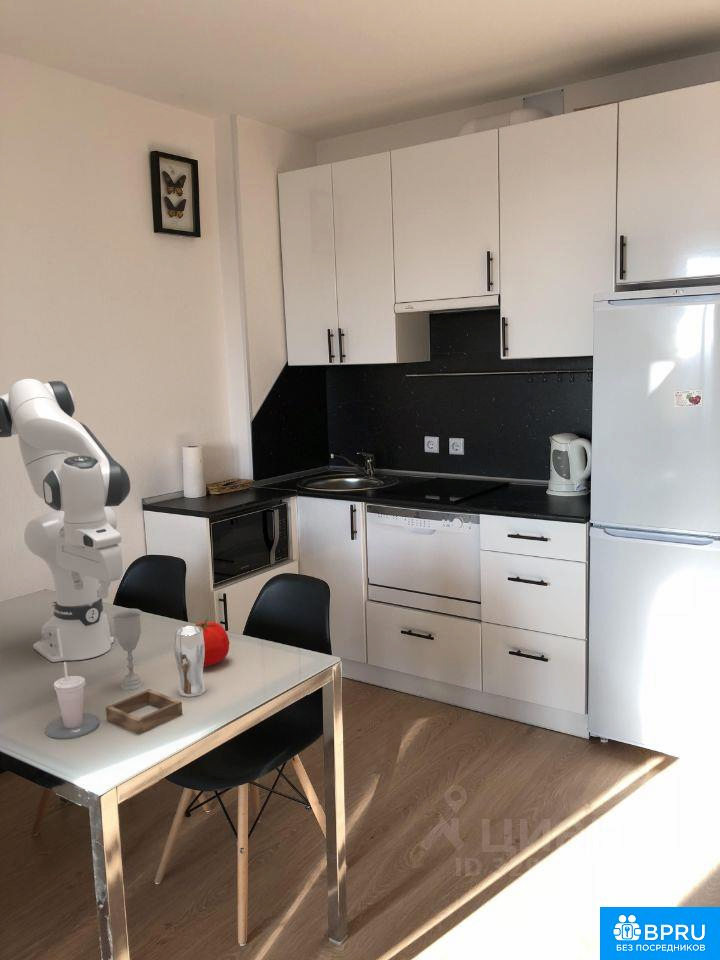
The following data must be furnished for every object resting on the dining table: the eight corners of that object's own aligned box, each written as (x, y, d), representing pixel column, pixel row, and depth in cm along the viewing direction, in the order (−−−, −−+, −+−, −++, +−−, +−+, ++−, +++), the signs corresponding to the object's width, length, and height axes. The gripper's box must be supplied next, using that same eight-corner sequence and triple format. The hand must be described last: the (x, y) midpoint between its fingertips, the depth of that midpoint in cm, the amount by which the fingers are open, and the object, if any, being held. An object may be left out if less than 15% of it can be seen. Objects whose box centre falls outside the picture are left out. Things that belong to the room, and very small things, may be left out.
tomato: (222, 652, 217) (219, 612, 215) (236, 667, 207) (234, 624, 205) (177, 661, 212) (174, 620, 210) (190, 677, 201) (187, 633, 200)
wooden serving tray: (106, 720, 180) (105, 707, 179) (150, 701, 188) (149, 689, 188) (139, 734, 172) (137, 721, 172) (182, 714, 181) (181, 701, 181)
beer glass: (175, 688, 195) (170, 628, 193) (204, 683, 197) (200, 623, 195) (179, 700, 189) (175, 637, 186) (210, 694, 191) (206, 633, 189)
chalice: (152, 684, 198) (147, 612, 195) (127, 693, 193) (121, 620, 190) (136, 676, 203) (131, 606, 200) (111, 685, 198) (105, 613, 195)
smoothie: (64, 717, 180) (59, 656, 178) (93, 717, 180) (88, 656, 177) (52, 731, 174) (46, 668, 171) (82, 731, 173) (76, 668, 171)
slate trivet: (35, 729, 176) (35, 727, 176) (81, 711, 184) (80, 708, 184) (63, 744, 169) (63, 741, 169) (109, 724, 178) (109, 721, 177)
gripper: (46, 527, 181) (51, 587, 184) (100, 542, 169) (104, 606, 171) (72, 522, 186) (76, 580, 189) (126, 536, 173) (130, 599, 176)
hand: (90, 593), depth 180 cm, fingers open, 8 cm apart
